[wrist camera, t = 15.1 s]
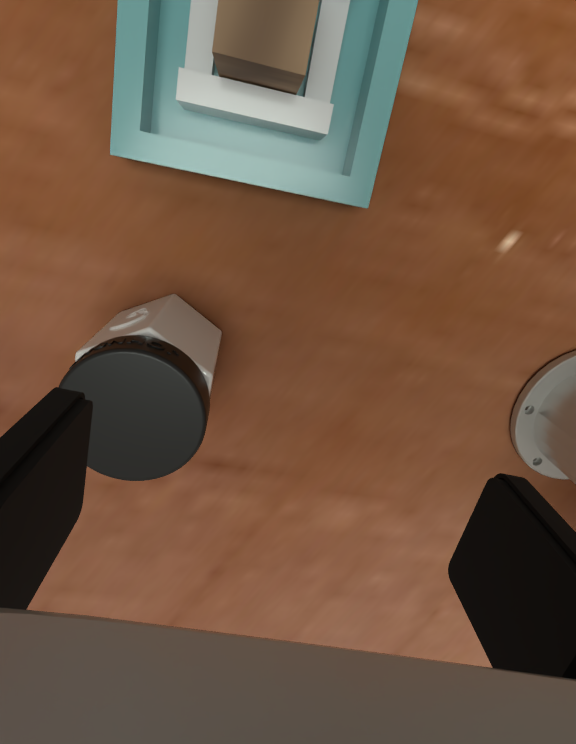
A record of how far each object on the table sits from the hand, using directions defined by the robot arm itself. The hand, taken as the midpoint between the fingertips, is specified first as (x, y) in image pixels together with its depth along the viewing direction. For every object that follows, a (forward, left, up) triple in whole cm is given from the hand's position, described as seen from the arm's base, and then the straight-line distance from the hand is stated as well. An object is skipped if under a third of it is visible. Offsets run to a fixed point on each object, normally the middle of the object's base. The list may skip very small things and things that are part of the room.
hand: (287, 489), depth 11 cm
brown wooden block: (+2, -14, -25) cm, 29 cm away
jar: (+6, +6, -26) cm, 28 cm away
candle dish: (+2, -15, -26) cm, 30 cm away
